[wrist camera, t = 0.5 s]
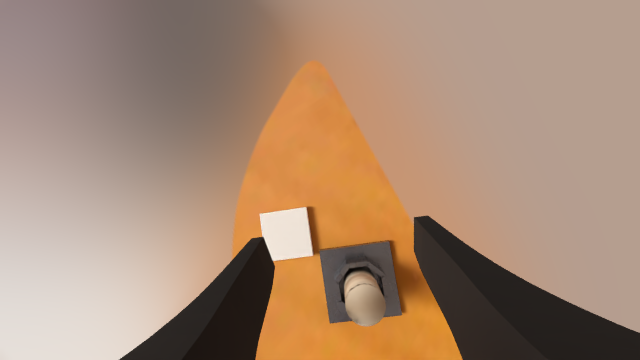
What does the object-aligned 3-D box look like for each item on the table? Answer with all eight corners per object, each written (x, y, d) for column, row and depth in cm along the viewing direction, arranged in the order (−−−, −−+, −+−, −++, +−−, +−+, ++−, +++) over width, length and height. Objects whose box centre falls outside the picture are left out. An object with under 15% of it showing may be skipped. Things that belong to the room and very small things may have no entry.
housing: (400, 312, 32) (407, 325, 29) (330, 320, 33) (329, 333, 29) (387, 240, 33) (393, 245, 30) (319, 249, 34) (317, 255, 30)
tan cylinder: (377, 296, 32) (389, 323, 25) (346, 300, 32) (348, 328, 25) (372, 264, 32) (382, 282, 25) (341, 268, 32) (342, 287, 25)
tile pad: (313, 254, 34) (312, 255, 33) (267, 260, 34) (265, 261, 33) (306, 206, 34) (306, 207, 33) (262, 213, 35) (259, 213, 34)
